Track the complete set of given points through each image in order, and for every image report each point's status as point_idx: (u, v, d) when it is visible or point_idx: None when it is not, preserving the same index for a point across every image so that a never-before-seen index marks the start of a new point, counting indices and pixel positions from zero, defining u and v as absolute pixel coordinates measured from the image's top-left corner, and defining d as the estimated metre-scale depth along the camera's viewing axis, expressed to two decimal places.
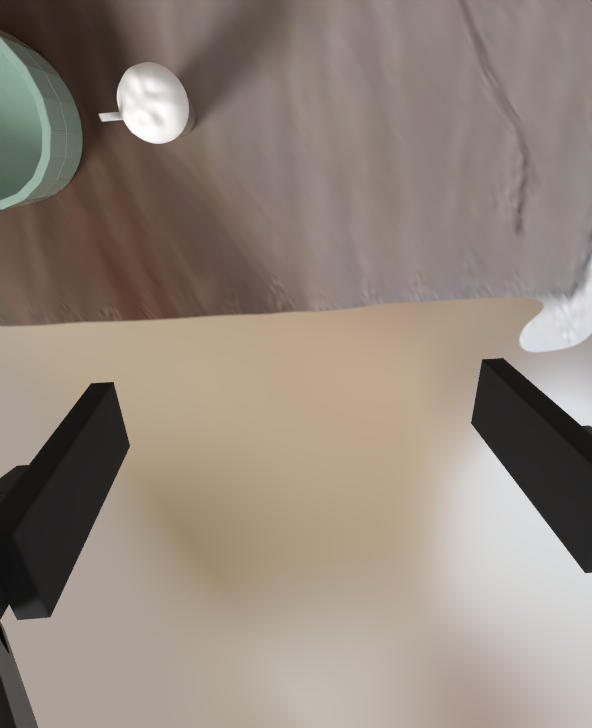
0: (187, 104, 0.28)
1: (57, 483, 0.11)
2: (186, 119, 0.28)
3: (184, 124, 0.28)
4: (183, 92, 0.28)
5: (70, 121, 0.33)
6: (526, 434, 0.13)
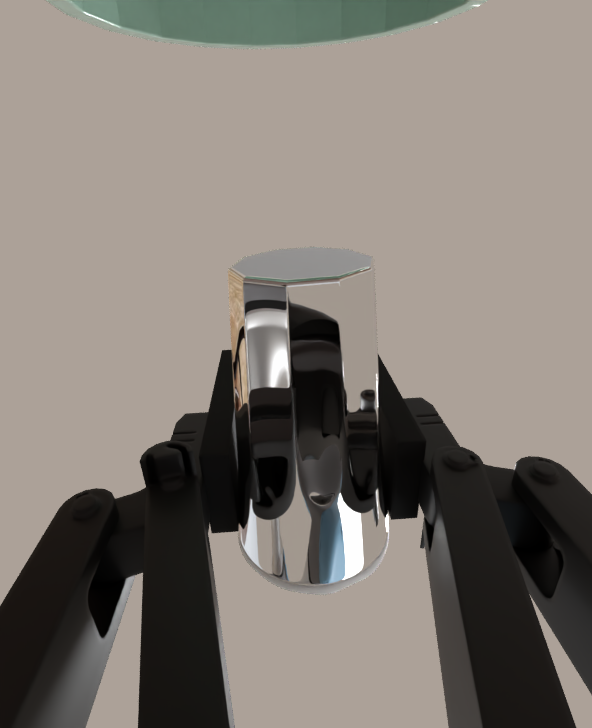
0: (324, 592, 0.11)
1: (234, 423, 0.13)
2: (355, 581, 0.11)
3: None
4: (299, 592, 0.11)
5: None
6: None
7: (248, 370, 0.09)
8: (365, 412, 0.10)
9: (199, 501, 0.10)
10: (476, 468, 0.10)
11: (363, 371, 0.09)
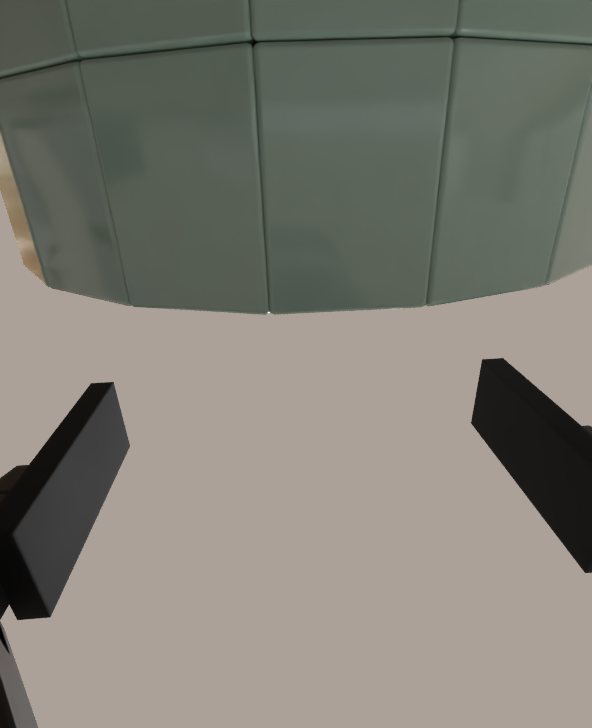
0: None
1: (57, 483, 0.11)
2: None
3: None
4: None
5: None
6: (526, 434, 0.13)
7: None
8: None
9: None
10: None
11: None
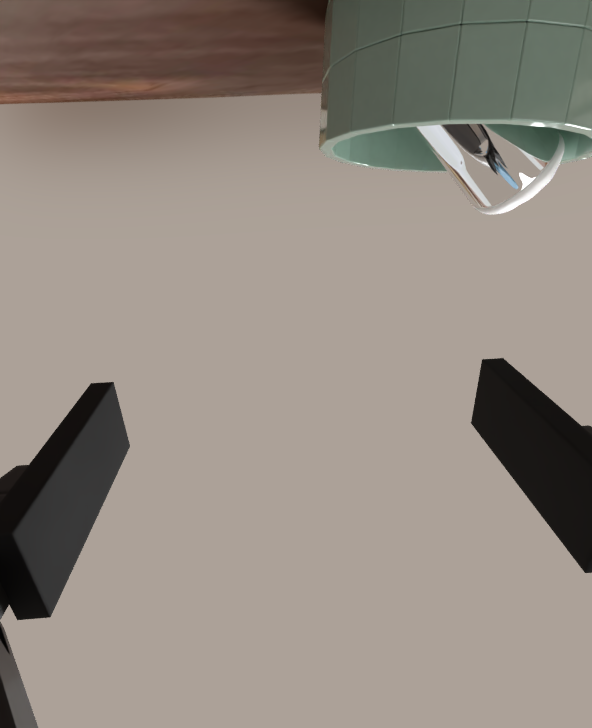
0: (548, 173, 0.19)
1: (57, 483, 0.11)
2: (558, 155, 0.19)
3: (562, 152, 0.19)
4: (536, 187, 0.19)
5: None
6: (526, 434, 0.13)
7: None
8: None
9: None
10: None
11: None
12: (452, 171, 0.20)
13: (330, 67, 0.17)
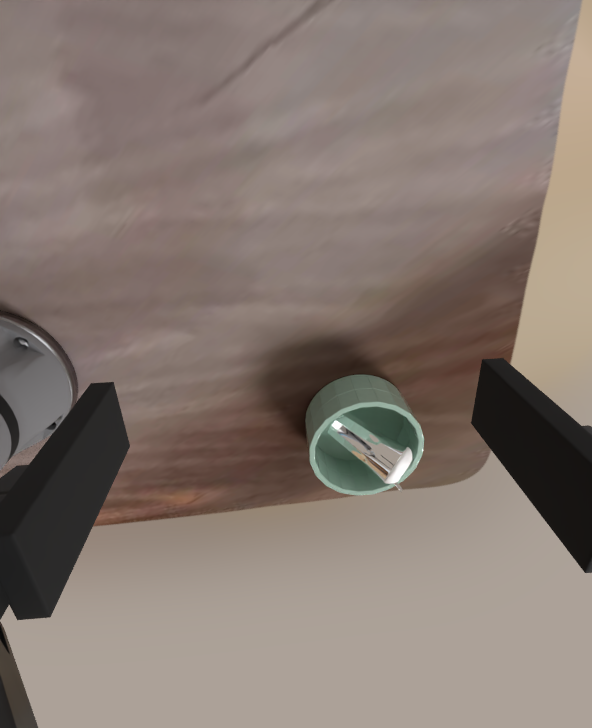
0: (408, 451, 0.45)
1: (57, 483, 0.11)
2: (409, 448, 0.45)
3: (410, 449, 0.46)
4: (406, 455, 0.44)
5: (363, 383, 0.46)
6: (526, 434, 0.13)
7: (350, 429, 0.46)
8: None
9: None
10: None
11: None
12: (369, 458, 0.45)
13: (312, 419, 0.46)
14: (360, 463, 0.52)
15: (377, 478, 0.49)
